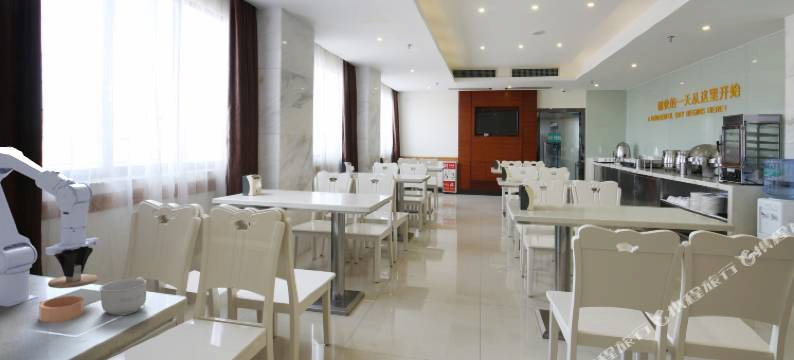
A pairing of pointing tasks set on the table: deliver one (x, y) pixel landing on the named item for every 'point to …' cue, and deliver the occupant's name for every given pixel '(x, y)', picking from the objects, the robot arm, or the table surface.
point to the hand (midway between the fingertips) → (73, 275)
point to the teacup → (123, 296)
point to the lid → (73, 279)
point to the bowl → (61, 309)
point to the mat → (85, 295)
